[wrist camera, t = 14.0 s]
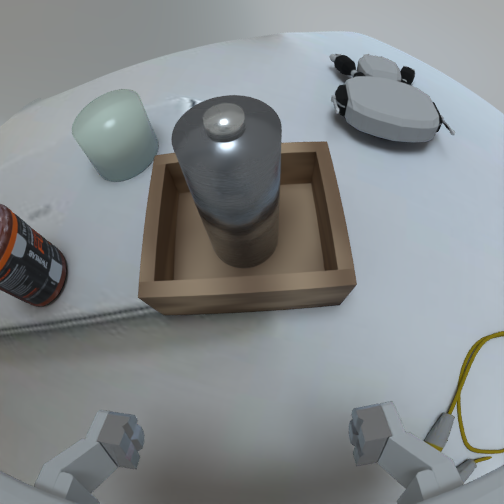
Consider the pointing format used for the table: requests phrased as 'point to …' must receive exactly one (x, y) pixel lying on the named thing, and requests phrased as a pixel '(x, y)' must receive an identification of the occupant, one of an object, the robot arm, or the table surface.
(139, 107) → the pale green dome cylinder
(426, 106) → the robot toy
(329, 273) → the wooden box
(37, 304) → the supplement bottle
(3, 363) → the table surface
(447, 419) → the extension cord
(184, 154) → the translucent grey bottle
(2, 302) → the table surface
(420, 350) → the table surface
